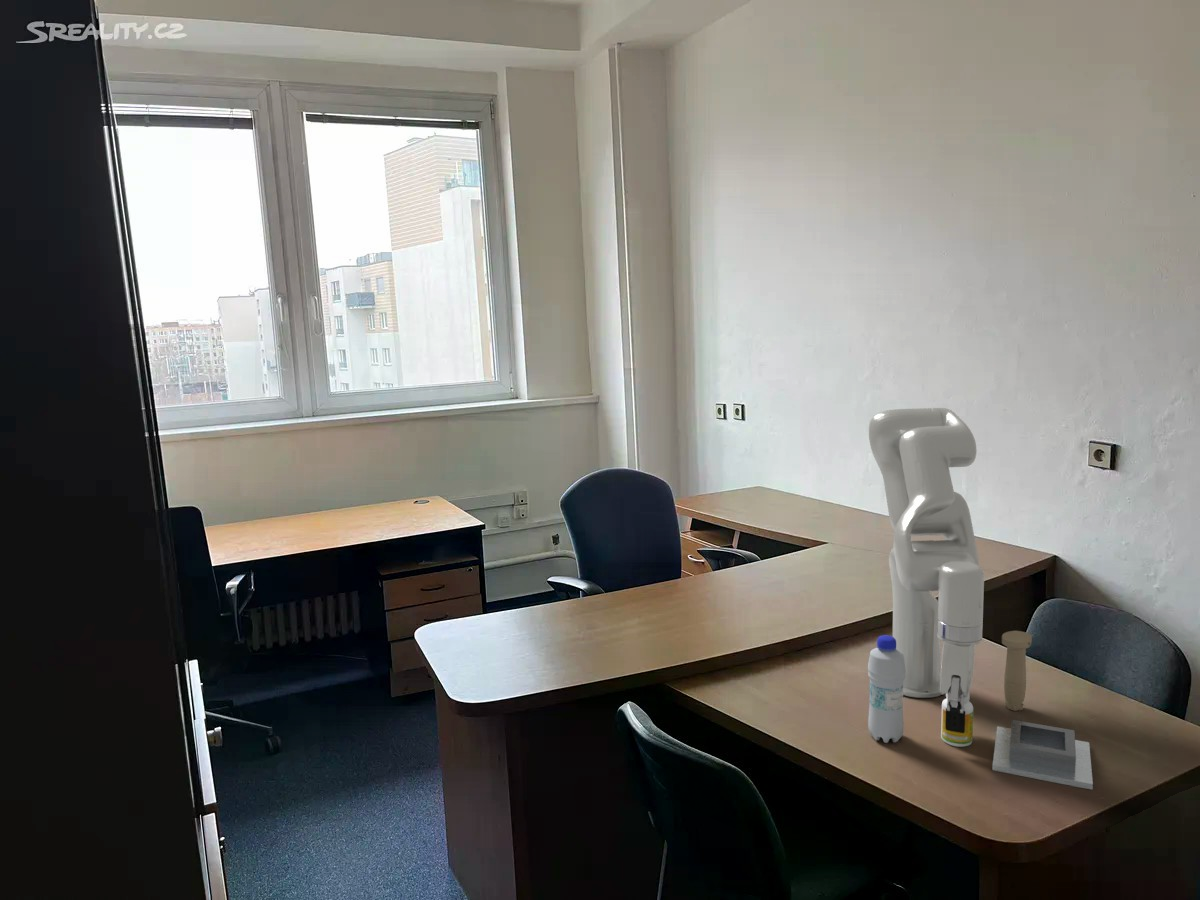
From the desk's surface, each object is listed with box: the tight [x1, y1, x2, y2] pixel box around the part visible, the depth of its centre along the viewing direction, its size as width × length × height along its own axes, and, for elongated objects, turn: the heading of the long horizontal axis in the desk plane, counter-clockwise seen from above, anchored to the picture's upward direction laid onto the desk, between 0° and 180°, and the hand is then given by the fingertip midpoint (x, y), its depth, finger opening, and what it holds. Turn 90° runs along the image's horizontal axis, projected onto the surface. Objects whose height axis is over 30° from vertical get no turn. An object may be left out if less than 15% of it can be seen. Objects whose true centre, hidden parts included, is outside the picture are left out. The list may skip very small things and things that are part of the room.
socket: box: [991, 719, 1094, 790], centre depth 148 cm, size 15×15×4 cm
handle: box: [1001, 630, 1033, 712], centre depth 166 cm, size 5×6×15 cm
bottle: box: [867, 634, 906, 744], centre depth 156 cm, size 7×7×20 cm
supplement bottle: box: [940, 691, 974, 748], centre depth 155 cm, size 5×5×10 cm
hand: (957, 720), depth 155 cm, fingers open, 7 cm apart
